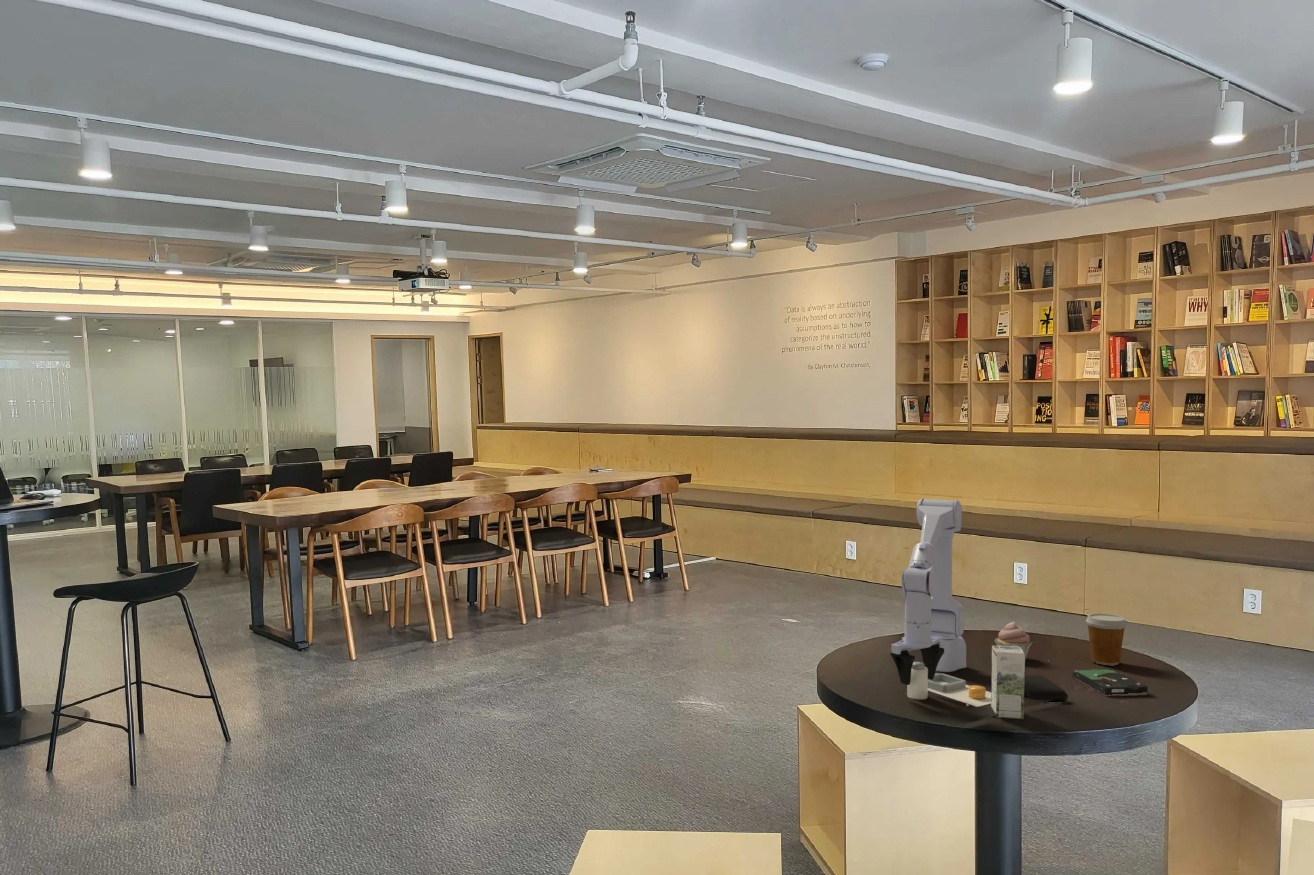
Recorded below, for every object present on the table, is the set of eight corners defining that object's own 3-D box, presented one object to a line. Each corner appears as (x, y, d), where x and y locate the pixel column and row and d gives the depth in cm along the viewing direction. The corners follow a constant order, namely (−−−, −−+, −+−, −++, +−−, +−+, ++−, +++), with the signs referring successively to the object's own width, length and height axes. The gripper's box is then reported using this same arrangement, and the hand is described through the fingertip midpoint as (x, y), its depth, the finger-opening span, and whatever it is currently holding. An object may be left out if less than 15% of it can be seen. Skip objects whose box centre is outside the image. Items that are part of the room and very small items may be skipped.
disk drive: (1148, 698, 211) (1111, 678, 226) (1149, 686, 211) (1111, 667, 226) (1105, 699, 210) (1071, 679, 225) (1106, 687, 210) (1071, 668, 225)
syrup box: (1018, 711, 200) (1019, 645, 199) (1024, 720, 194) (1025, 652, 194) (990, 709, 201) (991, 643, 200) (995, 718, 195) (996, 650, 195)
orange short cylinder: (975, 693, 209) (975, 684, 209) (989, 697, 206) (989, 688, 206) (965, 695, 207) (965, 686, 207) (978, 700, 204) (978, 691, 204)
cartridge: (919, 694, 210) (919, 660, 210) (931, 700, 206) (931, 665, 206) (903, 696, 208) (903, 661, 208) (914, 702, 204) (915, 667, 204)
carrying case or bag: (998, 685, 220) (1023, 705, 205) (999, 672, 220) (1023, 691, 205) (1043, 685, 220) (1071, 705, 205) (1043, 672, 220) (1071, 691, 205)
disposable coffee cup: (1089, 656, 245) (1089, 611, 244) (1128, 662, 239) (1129, 616, 239) (1081, 664, 237) (1082, 618, 236) (1122, 670, 231) (1123, 623, 231)
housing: (939, 680, 223) (939, 670, 223) (1009, 702, 206) (1010, 691, 206) (907, 687, 217) (907, 677, 217) (977, 711, 200) (977, 699, 200)
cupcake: (1034, 665, 236) (1034, 626, 236) (995, 662, 239) (996, 624, 238) (1030, 656, 245) (1030, 618, 245) (993, 653, 248) (993, 616, 247)
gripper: (926, 614, 214) (925, 672, 214) (881, 621, 206) (880, 681, 207) (950, 619, 208) (950, 679, 208) (905, 627, 200) (904, 689, 201)
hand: (917, 681), depth 207 cm, fingers open, 7 cm apart
